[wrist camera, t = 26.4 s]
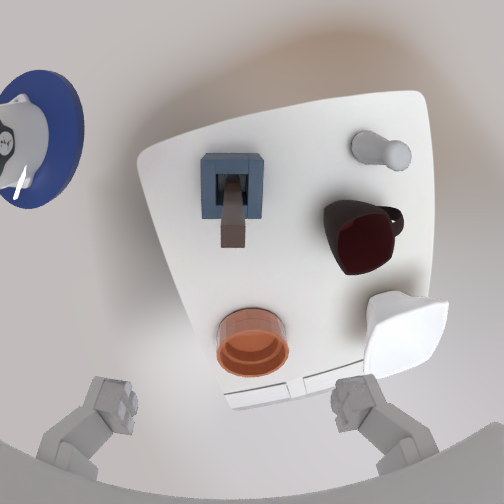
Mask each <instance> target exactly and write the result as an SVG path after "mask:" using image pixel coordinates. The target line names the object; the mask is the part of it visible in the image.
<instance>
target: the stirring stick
mask: <svg viewBox="0 0 504 504" xmlns="http://www.w3.org/2000/svg"><path fill="white" fill-rule="evenodd" d="M221 248H245V219H244V210H243V202H242V194H241V186H240V178H239V174H226V182H225V191H224V200H223V210H222V219H221Z"/></svg>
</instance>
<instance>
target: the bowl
mask: <svg viewBox="0 0 504 504" xmlns="http://www.w3.org/2000/svg"><path fill="white" fill-rule="evenodd" d="M447 315H448V301H446V300H439V299H433V298H427V297H420V296H417V297H410V296H408V295H406V294H404V293H402V292H400V291H389V292H385V293H381V294H377V295H375V296H373V297H371V298H370V299H369V302H368V306H367V311H366V320H367V326H368V328H367V333H366V342H365V351H364V362H363V373H364V375H367V374H373V375H374V376H375V378H376V379H381V378H384V377H387V376H390V375H393V374H396V373H399V372H402V371H405V370H407V369H410V368H413V367H415V366H417V365H419V364H421V363H423V362H424V361H426V360H428V359H429V358H430V357H431V355H432V354H433V352H434V350H435V349H436V347H437V344H438V342H439V340H440V338H441V336H442V333H443V330H444V327H445V323H446V319H447Z"/></svg>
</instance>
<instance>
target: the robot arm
mask: <svg viewBox="0 0 504 504" xmlns="http://www.w3.org/2000/svg"><path fill="white" fill-rule="evenodd" d="M48 142H49V130H48V124H47V120H46V117H45V115H44V113H43V112H42V110H41V109H40V108H39V107H38V106H36V105H34V104H33V103H31V102H30V100H29V98H28V96H27V95H26V94H25V93H24V94H20V95H18V96H17V97H15V98H14V99H13V100H11V101H10V102H9V103H6V104H0V189H3V188H6V187H16V188H17V189H16V192H15V195H14V198H13V199H16V198H17V197H18V194H19V191H20V188H29V187H30V186H31V184H32V181H33V177H34V174H35V173H36V171H37V170H38V169H39V167H40V166H41V164H42V162H43V160H44V158H45V155H46V152H47V148H48ZM335 386H336V389H334V390H333V391H332V394H331V407H332V411H333V412H334V413H336V414H337V417H336V419H335V421H336V424H337V427H338V431H339V432H345V431H351V430H356V429H358V431H359V432H360V433H361V434H362V435H363V436H364V437H366V438H367V439H368V440H369V441H370V442H371V443H372V444H373V445H374V446H375V447H376V448H378V449H379V450H380V451H381V452H382V453H383V454H384V455H385V456H384V457H383V458H382V459H381V460H380V461H379V462H378V463H377V464H376V466H377V470H378V473H379V477H375V478H372V479H368V480H365V481H362V482H358V483H354V484H350V485H346V486H342V487H338V488H333V489H328V490H323V491H318V492H313V493H306V494H300V495H293V496H284V497H274V498H262V499H239V500H220V499H196V498H184V497H175V496H166V495H159V494H152V493H146V492H141V491H136V490H131V489H126V488H122V487H118V486H114V485H109V484H106V483H102V482H99V481H96V479H97V474H98V468H97V467H96V466H95V465H94V464H93V463H92V462H91V461H89V459H90V458H91V457H92V456H93V455H94V454H95V452H96V451H97V450H98V449H99V448H100V447H101V446H102V445H103V444H104V443H105V442H106V441H107V440H108V439H109V438H110V437H111V435H112V434H113V432H114V433H120V434H126V435H132V432H133V427H134V423H135V422H134V420H133V418H132V417H133V416H134V415H135V414H136V413H137V409H138V400H137V396H136V394H135V392H133V391H132V390H131V389H132V385H131V383H130V382H128V381H121V380H114V379H108V378H103V377H97V376H96V377H95V378H94V379H93V380H92V383H91V385H90V388H89V391H88V393H87V396H86V398H85V401H84V404H83V407H80V406H79V407H78V408H77V409H76V410H74V411H73V412H72V413H70V414H69V415H68V416H66V417H65V418H64V419H62V420H61V421H60V422H59V423H57V424H56V425H55V426H53V427H52V428H51V429H49V430H48V431H47V432H46V433H44V435H43V438H42V441H41V444H40V446H39V449H38V452H37V456H36V458H34V457H32V456H30V455H28V454H26V453H24V452H22V451H20V450H18V449H16V448H14V447H12V446H10V445H8V444H7V443H5V442H3V441H1V440H0V504H504V425H503V424H500V423H498V422H493V423H490V424H489V425H487V426H485V427H484V428H482V429H481V430H479V431H478V432H476V433H474V434H472V435H471V436H469V437H467V438H466V439H464V440H462V441H460V442H458V443H456V444H455V445H453V446H451V447H449V448H447V449H445V450H443V451H441V452H439V450H438V447H437V445H436V443H435V441H434V439H433V437H432V434H431V432H430V430H429V429H428V428H427V427H425V426H424V425H422V424H421V423H419V422H418V421H416V420H415V419H413V418H412V417H410V416H409V415H407V414H406V413H404V412H403V411H401V410H400V409H398V408H397V407H396V406H394V405H393V404H391V403H387V402H386V400H385V397H384V395H383V393H382V391H381V389H380V387H379V384H378V383H377V380H376V378H375V376H374V375H373V374H367V375H362V376H355V377H349V378H343V379H338V380H337V381H336V384H335Z"/></svg>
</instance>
